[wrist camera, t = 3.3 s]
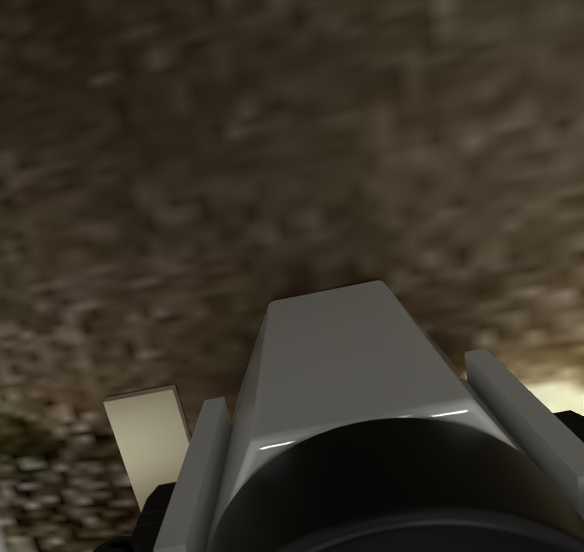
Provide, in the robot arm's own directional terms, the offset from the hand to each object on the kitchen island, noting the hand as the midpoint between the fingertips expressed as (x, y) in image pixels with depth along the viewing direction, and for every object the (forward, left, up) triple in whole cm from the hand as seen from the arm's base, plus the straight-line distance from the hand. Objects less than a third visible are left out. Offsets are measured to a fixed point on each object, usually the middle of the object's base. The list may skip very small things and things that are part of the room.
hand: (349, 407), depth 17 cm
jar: (0, 0, -3) cm, 3 cm away
